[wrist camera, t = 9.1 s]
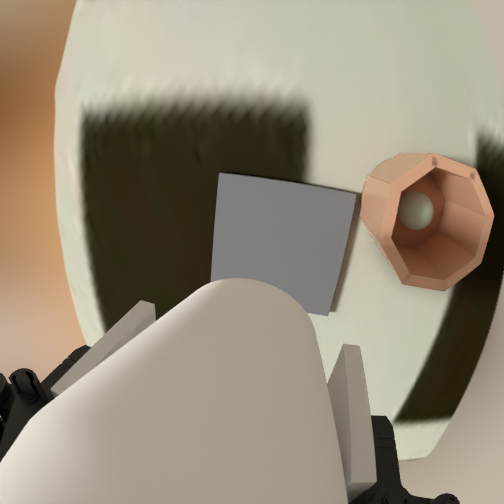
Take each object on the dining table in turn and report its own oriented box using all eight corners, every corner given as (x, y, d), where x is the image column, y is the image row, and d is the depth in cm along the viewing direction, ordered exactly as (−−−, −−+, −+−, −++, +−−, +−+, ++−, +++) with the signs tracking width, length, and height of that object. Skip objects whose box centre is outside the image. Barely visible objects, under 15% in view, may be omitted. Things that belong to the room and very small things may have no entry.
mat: (221, 172, 25) (219, 172, 24) (355, 193, 23) (356, 194, 22) (212, 290, 29) (210, 293, 28) (327, 311, 27) (327, 316, 26)
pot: (369, 146, 21) (396, 142, 14) (452, 170, 20) (500, 179, 13) (351, 241, 24) (368, 278, 17) (432, 258, 23) (469, 295, 16)
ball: (396, 184, 21) (409, 189, 18) (428, 193, 21) (443, 199, 18) (389, 220, 22) (400, 230, 19) (420, 227, 22) (434, 238, 19)
